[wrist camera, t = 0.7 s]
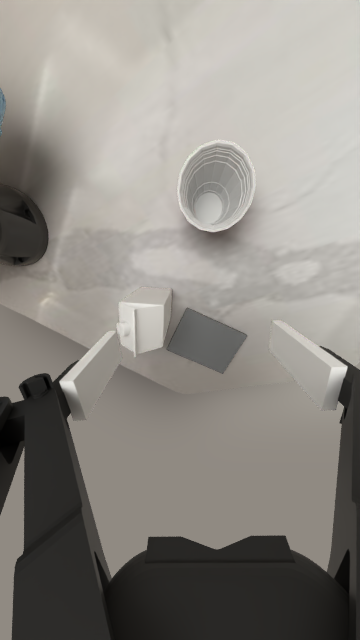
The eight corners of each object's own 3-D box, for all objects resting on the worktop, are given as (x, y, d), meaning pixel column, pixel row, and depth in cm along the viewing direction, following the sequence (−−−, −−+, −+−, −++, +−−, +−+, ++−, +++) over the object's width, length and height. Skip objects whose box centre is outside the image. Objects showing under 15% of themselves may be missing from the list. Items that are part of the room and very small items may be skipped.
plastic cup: (171, 192, 36) (163, 164, 25) (224, 165, 34) (242, 120, 23) (192, 247, 39) (194, 244, 28) (241, 224, 37) (265, 211, 26)
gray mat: (167, 348, 47) (166, 349, 46) (187, 307, 43) (187, 308, 43) (222, 371, 49) (222, 373, 48) (246, 334, 45) (247, 335, 44)
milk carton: (172, 288, 42) (160, 312, 24) (170, 317, 44) (159, 359, 27) (141, 286, 42) (106, 309, 24) (141, 315, 45) (110, 356, 27)
